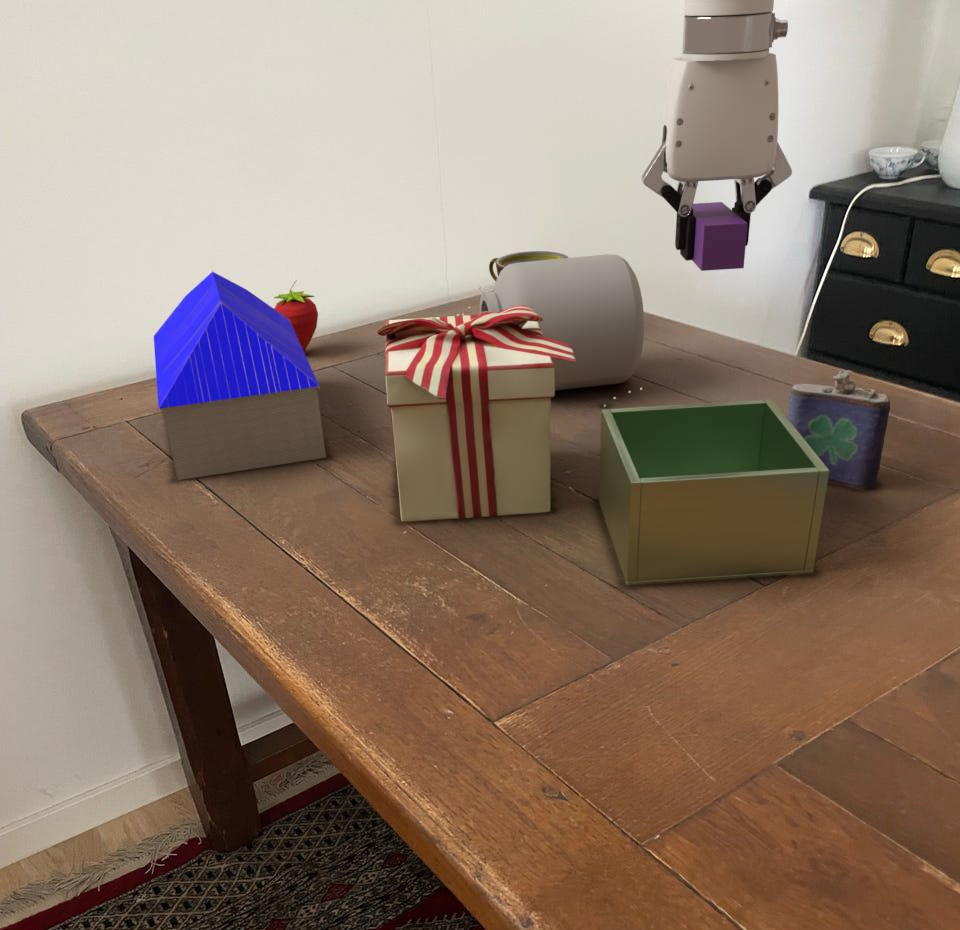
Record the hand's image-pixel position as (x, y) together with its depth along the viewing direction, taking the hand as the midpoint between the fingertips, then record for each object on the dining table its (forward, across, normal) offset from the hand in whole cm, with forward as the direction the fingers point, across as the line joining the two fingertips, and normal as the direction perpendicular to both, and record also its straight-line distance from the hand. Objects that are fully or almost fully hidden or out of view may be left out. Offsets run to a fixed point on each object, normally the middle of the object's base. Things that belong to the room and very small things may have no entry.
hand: (710, 253), depth 100 cm
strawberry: (+19, +46, -35) cm, 61 cm away
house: (+19, +50, -10) cm, 55 cm away
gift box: (+19, +24, +10) cm, 32 cm away
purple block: (0, 0, 0) cm, 0 cm away
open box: (+19, +5, +22) cm, 30 cm away
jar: (+19, +16, -16) cm, 29 cm away
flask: (+19, -10, +12) cm, 25 cm away
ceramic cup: (+19, +15, -40) cm, 47 cm away
